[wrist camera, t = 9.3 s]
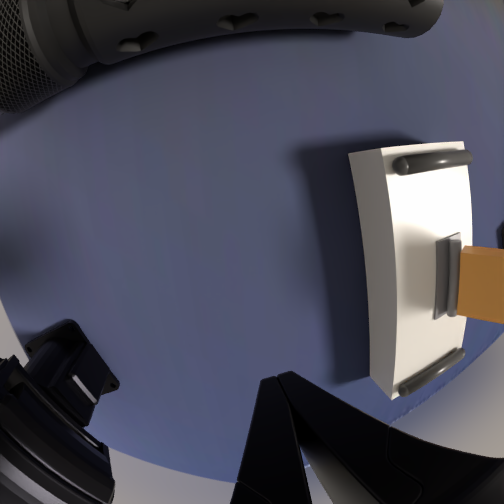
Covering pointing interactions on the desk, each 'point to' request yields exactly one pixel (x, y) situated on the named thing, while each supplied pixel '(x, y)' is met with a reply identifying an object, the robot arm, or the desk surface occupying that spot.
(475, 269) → the lever
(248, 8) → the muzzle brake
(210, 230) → the desk surface
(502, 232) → the disk drive
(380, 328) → the block
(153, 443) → the desk surface
